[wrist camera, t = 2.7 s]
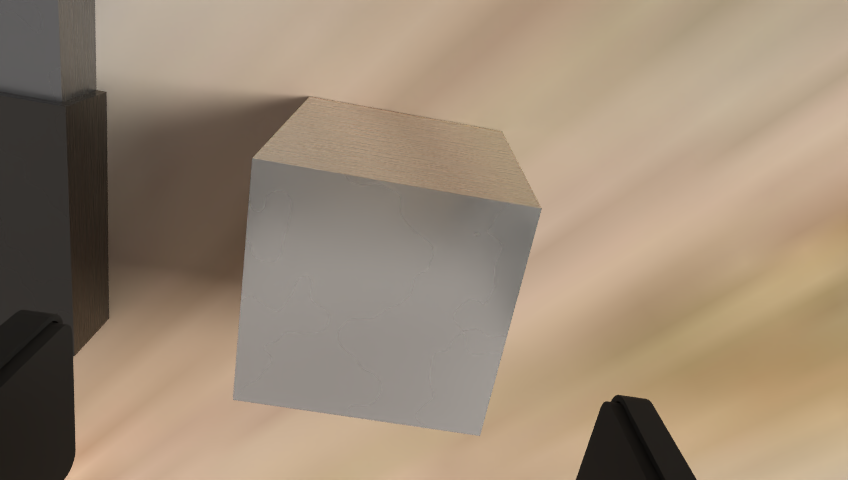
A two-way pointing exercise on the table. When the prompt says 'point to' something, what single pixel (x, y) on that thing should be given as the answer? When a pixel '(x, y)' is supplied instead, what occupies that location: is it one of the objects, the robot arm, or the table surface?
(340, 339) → the wood-topped grey cube
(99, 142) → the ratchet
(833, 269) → the table surface
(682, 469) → the robot arm
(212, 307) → the table surface
